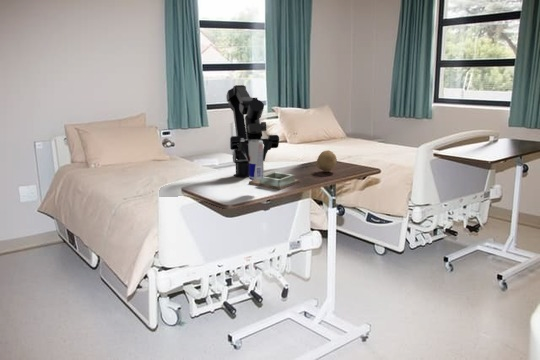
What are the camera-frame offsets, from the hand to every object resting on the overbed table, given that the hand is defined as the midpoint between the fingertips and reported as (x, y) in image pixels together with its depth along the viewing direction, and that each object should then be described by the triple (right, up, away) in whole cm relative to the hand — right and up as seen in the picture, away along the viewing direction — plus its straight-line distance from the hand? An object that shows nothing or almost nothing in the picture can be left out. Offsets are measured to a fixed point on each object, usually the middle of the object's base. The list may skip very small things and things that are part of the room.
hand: (256, 160), depth 183 cm
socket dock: (+7, -9, +20) cm, 23 cm away
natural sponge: (+31, -4, +38) cm, 49 cm away
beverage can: (0, -7, +3) cm, 8 cm away
